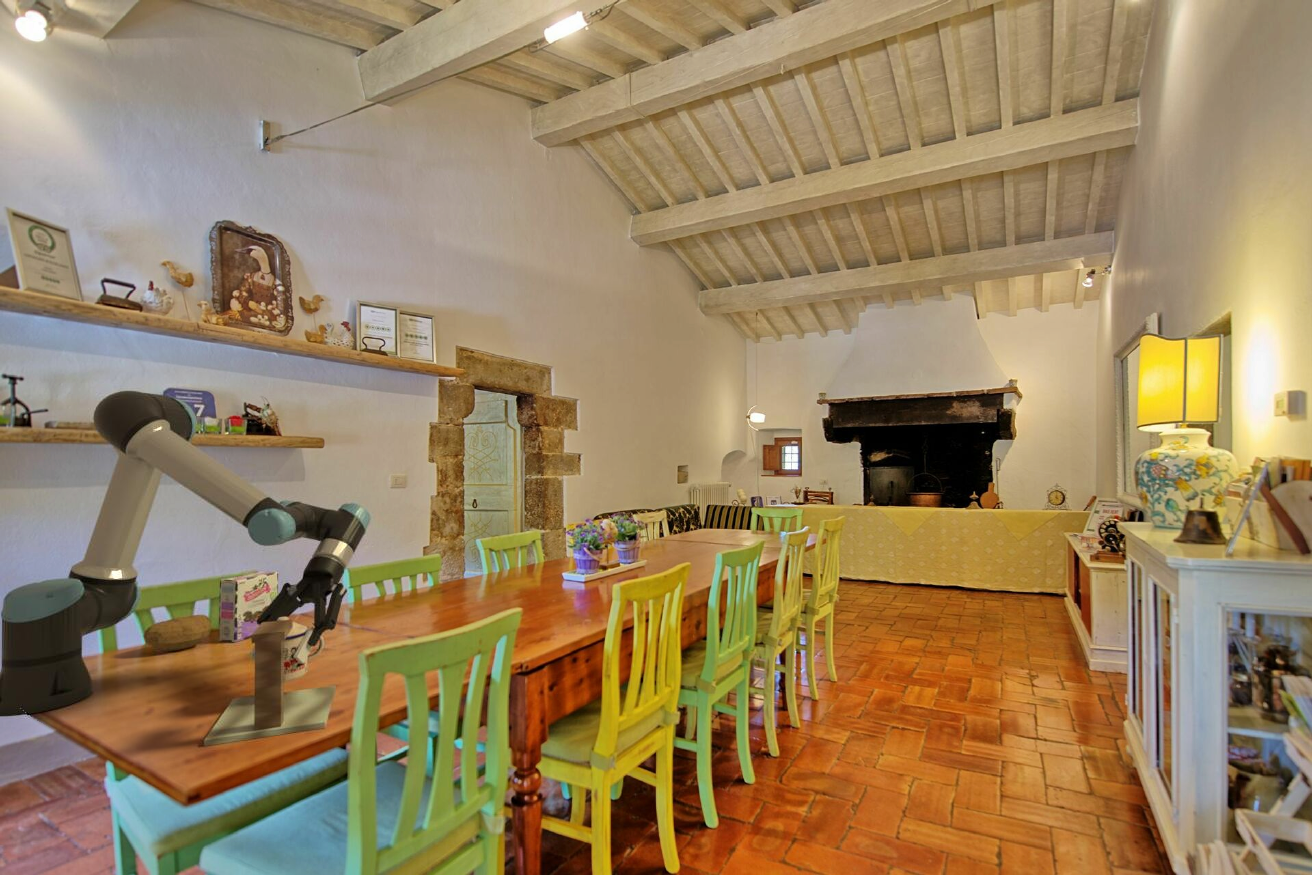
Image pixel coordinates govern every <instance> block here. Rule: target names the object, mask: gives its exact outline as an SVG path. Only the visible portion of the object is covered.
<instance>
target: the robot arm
mask: <svg viewBox="0 0 1312 875" xmlns="http://www.w3.org/2000/svg"><path fill="white" fill-rule="evenodd" d="M92 420H93V425H94V428H95V430H96V431H97V433H98V434H99V436H100V437H101V438H103V440H104V441H106V442H107V443H108V444H110V445H111V446H112V449H113V450H114V451H115V452H116V453H117V455H118V458H117V460H116V464H115V466H114V469H113V472H112V475H111V479H110V481H109V483H108V487H107V489H106V492H105V496H104V498H103V502H102V505H101V508H100V510H99V513H98V516H97V519H96V522H95V524H94V527H93V530H92V534H91V536H90V539H89V543H88V545H87V549H86V551H85V554H84V557H83V559H82V560H81V561H79V562H78V563H75V564H73V565H72V566H71V568H70V571H69V574H68V576H67V578H66V577H65V578H56V579H55V578H54V579H47V580H42V581H40V582H32V583H29V584H27V583H26V584H25V585H20V586H19V587H16V588H13V589H12V590H11V591H9V592H8V593H6V595H5V596H4V598H3V602H2V609H1V611H0V618H1V669H0V717H18V716H25V715H27V714H26V713H29V714H28V715H32V714H36V713H37V714H38V713H43V712H47V711H50V710H55V709H59V708H63V707H66V706H69V705H72V704H75V703H78V702H80V701H82V700H84V699H87V698H88V697H90V696H91V695H92V694H93V689H94V687H93V684H94V683H93V682H94V680H93V679H92V677H91V675H90V672H89V670H88V667H87V666H86V663H85V661H84V660H85V659H84V658H83V637H84V636H86V635H88V634H92V633H94V632H97V631H100V630H104V629H108V628H111V627H113V626H115V625H117V624H119V623H120V622H122V621H124V620H126V619H127V618H128V617H130V616H131V615H132V614H133V613H134V612H135V610H136V609H137V607H138V605H139V604H140V601H141V597H142V596H141V595H142V592H141V591H142V590H141V586H139V585H138V583H139V582H138V581H137V577H138V574H139V572H138V571H137V570H136V568H135V567H134V566H133V564H134V562H135V558H136V556H137V553H138V550H139V547H140V543H141V540H142V536H143V535H144V531H145V528H146V525H147V522H148V519H149V517H150V512H151V510H152V507H153V504H154V502H155V501H154V500H155V497H156V495H157V493H158V489H159V487H160V484H161V479H162V478H163V474H165V475H166V476H168V477H169V478H171V479H172V480H174V481H175V482H177V483H178V484H180V485H181V486H183V487H184V488H186V489H187V490H189V491H190V492H192V493H193V494H195V495H197V497H199V498H200V499H202V500H203V501H205V502H207V503H208V504H210V505H211V506H213V507H214V508H215V509H217V510H219V511H220V512H222V513H223V514H225V515H226V516H228V517H230V518H231V519H232V520H234V521H235V522H237V523H239V525H241V526H242V527H244V528H246V529H247V532H248V535H249V537H250V539H251V540H252V541H253V542H254V543H256V544H258V545H260V546H265V547H270V546H279V545H282V544H285V543H287V542H290V541H295V540H297V539H300V538H304V539H310V540H313V541H318V542H319V544H318V545H317V547H316V549H315V550H314V552H313V554H312V555H311V558H310V559H309V562H308V563H307V564H306V567H305V568H304V569H303V573H302V578H301V580H300V581H299V582H297V583H296V584H290V583H289V582H284V584H283V585H282V587H281V590H280V592H278V595H277V597H276V598H275V599H274V600H273V601H272V603H271V604H270V605H269V606H268V607H267V609H266V610H265V611H264V612H263V613H262V615H261V616H260V617H259V618H258V619H257V621H256V622H257V623H258V624H259V625H260V624H261V623H262V622H272V621H277V619H278V618H280V617H288V618H289V617H290V616H291V615H293V614H294V612H295V611H296V610H297V609H299V608H302V607H304V606H305V604H313V605H314V606H313V607H314V608H313V614H314V615H313V620H314V621H313V623H312V625H313V626H309V627H308V630H307V632H306V634H305V636H304V638H303V640H302V642H301V643H300V645H299V647H298V649H297V651H296V653H295V655H294V658H295V659H296V660H297V661H298V662H299V663H302V664H304V662H305V660H306V658H307V656H308V655H310V653H311V650H312V649H313V647H315V646H317V644H319V643H318V642H320V640H319V639H320V637H321V636H322V634H323V633H325V631H328V630H330V631H333V630H335V629H336V626H337V621H338V618H339V614H340V609H341V605H342V601H343V598H344V597H345V596H346V594H347V592H348V590H347V588H346V587H345V585H344V584H343V583H341V582H340V581H341V579H342V577H343V575H344V573H345V570H346V569H347V567H348V565H349V563H350V562H351V560H352V558H353V556H354V554H355V552H356V550H357V548H358V546H359V544H360V542H361V541H362V539H363V537H364V536H365V534H366V533H367V529H368V526H369V524H370V522H371V518H372V517H371V514H370V512H369V510H368V509H367V508H365V507H364V506H362V505H361V504H358V503H355V502H350V503H347V502H346V503H344V504H342V505H341V506H340V507H339V508H338V509H337V510H335V509H330V508H329V509H328V508H323V507H320V506H316V505H311V504H308V503H304V502H302V501H299V500H298V501H297V500H296V501H294V500H288V499H287V500H286V499H284V500H282V501H280V502H278V501H277V500H275V499H273V498H272V497H270V495H267V494H266V493H264V492H263V491H262V490H261V489H259V488H258V487H255V486H254V485H253V484H251V483H250V482H248V481H247V480H246V479H244V478H242V477H241V476H239V475H238V474H237V473H235V472H234V471H233V470H230V469H229V468H228V467H226V466H225V465H223V464H222V463H220V462H219V461H217V460H216V459H214V458H213V457H211V456H210V455H208V454H207V453H205V452H204V451H202V450H201V449H199V448H198V447H196V446H195V445H193V444H192V443H191V440H192V439H194V436H195V434H196V433H197V429H198V420H197V417H196V414H195V412H194V410H193V408H191V406H190V405H189V404H187V403H186V402H185V401H183V400H181V399H179V398H176V397H171V396H169V395H164V394H156V393H148V392H142V391H135V390H121V391H118V392H114V393H111V394H108V395H107V396H105V398H103V399H102V400H101V401H99V402H98V404H97V406H95V409H94V412H93V418H92ZM328 596H330V598H329V602H327V600H328V598H327V597H328ZM327 605H328V606H327ZM326 607H327V608H326ZM248 657H250V659H252V661H254V662H255V645H254V646H253V648H252V649H251V651H250V653H249V655H248ZM20 708H21V709H20ZM23 710H24V711H23ZM25 712H26V713H25Z"/></svg>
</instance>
